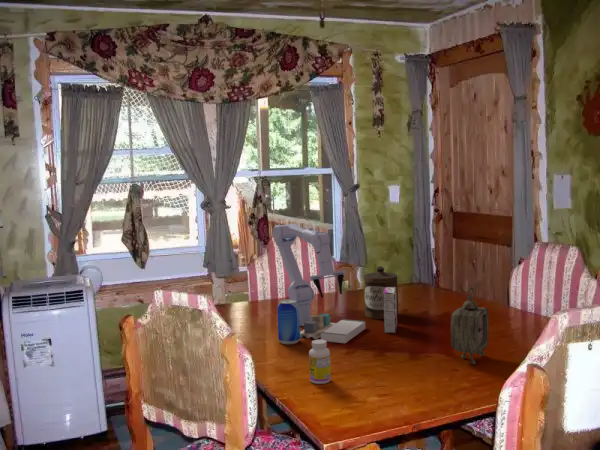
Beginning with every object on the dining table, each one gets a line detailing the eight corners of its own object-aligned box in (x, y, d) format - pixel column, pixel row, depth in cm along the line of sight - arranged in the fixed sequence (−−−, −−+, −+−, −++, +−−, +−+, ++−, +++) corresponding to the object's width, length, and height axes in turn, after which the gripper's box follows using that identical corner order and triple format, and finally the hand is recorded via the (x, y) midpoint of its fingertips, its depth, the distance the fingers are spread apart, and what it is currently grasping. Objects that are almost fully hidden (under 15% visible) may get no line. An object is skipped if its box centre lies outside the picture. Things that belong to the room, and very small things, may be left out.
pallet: (298, 338, 248) (297, 320, 247) (318, 326, 265) (317, 309, 264) (316, 340, 244) (316, 322, 244) (335, 327, 261) (335, 311, 260)
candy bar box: (385, 325, 261) (384, 287, 259) (397, 326, 260) (396, 287, 258) (383, 333, 250) (382, 292, 248) (396, 333, 249) (395, 292, 247)
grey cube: (304, 332, 248) (304, 322, 247) (308, 330, 251) (308, 320, 251) (313, 333, 246) (313, 323, 246) (317, 331, 250) (317, 321, 249)
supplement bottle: (308, 378, 201) (307, 339, 199) (329, 376, 201) (328, 337, 200) (310, 385, 194) (309, 345, 193) (332, 384, 195) (331, 343, 193)
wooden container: (360, 318, 274) (359, 268, 272) (369, 310, 288) (369, 263, 286) (393, 320, 269) (393, 270, 266) (401, 312, 282) (401, 264, 280)
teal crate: (317, 324, 259) (317, 315, 259) (321, 322, 263) (321, 313, 262) (326, 325, 257) (326, 316, 257) (330, 323, 261) (329, 314, 260)
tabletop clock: (476, 367, 206) (476, 292, 203) (449, 363, 211) (449, 290, 208) (488, 355, 218) (488, 284, 215) (463, 351, 223) (462, 282, 220)
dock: (321, 340, 242) (320, 332, 241) (342, 326, 261) (342, 319, 261) (345, 343, 237) (344, 335, 237) (365, 328, 257) (365, 321, 257)
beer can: (303, 339, 244) (301, 299, 243) (295, 345, 236) (294, 304, 235) (282, 338, 247) (281, 298, 245) (275, 344, 239) (273, 303, 238)
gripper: (307, 265, 247) (313, 299, 246) (343, 258, 247) (350, 292, 246) (307, 266, 254) (313, 299, 253) (342, 259, 255) (348, 292, 253)
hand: (331, 295), depth 250 cm, fingers open, 7 cm apart
